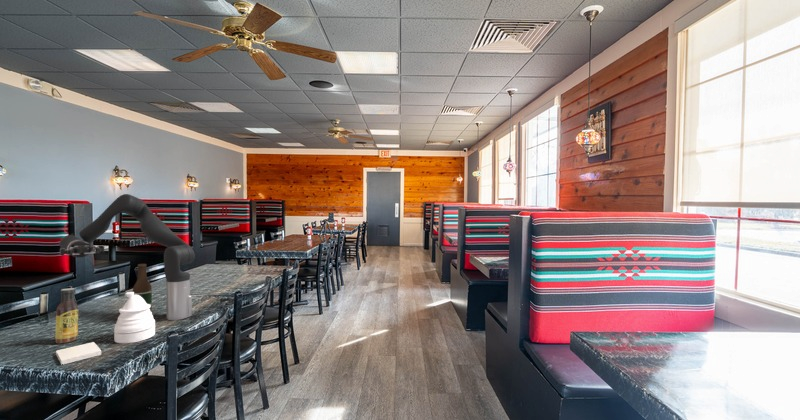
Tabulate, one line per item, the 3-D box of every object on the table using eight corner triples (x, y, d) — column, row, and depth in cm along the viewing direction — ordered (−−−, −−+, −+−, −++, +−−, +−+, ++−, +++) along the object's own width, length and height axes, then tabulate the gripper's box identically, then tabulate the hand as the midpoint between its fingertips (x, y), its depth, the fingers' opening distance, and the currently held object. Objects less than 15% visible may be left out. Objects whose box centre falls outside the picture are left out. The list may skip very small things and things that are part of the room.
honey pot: (130, 345, 128) (129, 297, 128) (105, 340, 132) (105, 294, 131) (163, 332, 140) (162, 289, 140) (140, 329, 144) (139, 286, 144)
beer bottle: (155, 313, 164) (155, 263, 164) (136, 318, 157) (135, 266, 157) (148, 310, 168) (147, 262, 168) (129, 315, 162) (128, 264, 161)
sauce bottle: (63, 345, 127) (62, 291, 127) (50, 343, 129) (50, 290, 128) (83, 338, 134) (82, 287, 133) (70, 337, 135) (70, 286, 135)
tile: (93, 341, 127) (101, 350, 120) (93, 346, 127) (101, 355, 120) (55, 350, 120) (61, 360, 112) (56, 355, 120) (61, 366, 112)
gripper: (57, 241, 151) (61, 244, 141) (99, 239, 162) (106, 241, 152) (57, 258, 152) (61, 262, 141) (99, 254, 162) (106, 258, 152)
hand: (85, 251), depth 146 cm, fingers open, 8 cm apart
